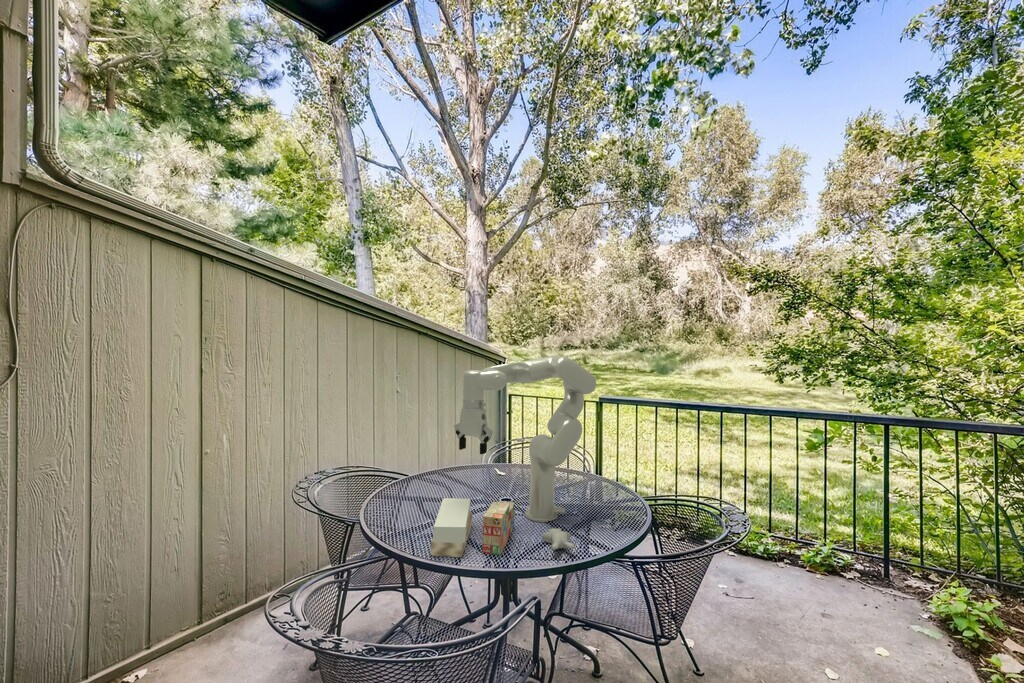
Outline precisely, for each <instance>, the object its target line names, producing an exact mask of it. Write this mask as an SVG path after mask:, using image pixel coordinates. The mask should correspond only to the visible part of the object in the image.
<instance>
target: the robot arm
mask: <svg viewBox="0 0 1024 683" xmlns="http://www.w3.org/2000/svg"><path fill="white" fill-rule="evenodd" d="M462 377H463V380H462V383H463V384H462V387H463V388H462V407H461V410H460V415H459V416H460V417H459V422H458V423H456V424H455V425H454V426H453V428H454V430H455V434H456V435H457V439H458V450H460V451H461V450H464V449H466V448H467V438H466V436H469V437H475V438H478V439H479V441H480V443H479V454H480V455H484V454H487V450H488V444H487V443H488V442H489V441H490V439H492V435H493V434H494V432H493V430H491V429H490V428H489V426H488V425H489V424H488V415H487V410H486V408H485V407H486V402H485V399H484V397H485V391H494V392H496V391H501V390H502V389H504V388H505V387H506V385H507V384H509V383H519V384H532V383H535V382H536V383H537V382H539V381H544V380H549V379H553V378H558V379H561V380H562V385H563V388H564V389H563V390H564V396H563V398H562V401H561V403H559V404H560V405H558V407H557V408H556V409H555V411H554V412H553V414H552V416H551V417H550V418H549V419H548V422H547V425H546V426H547V427H546V428H547V430H548V432H549V433H550V434H551V435H553V437H552V436H550V435H547V434H542V433H541V434H537V435H534V436H533V437H532V439H531V440H530V443H529V446H528V448H529V451H528V452H529V460H530V475H529V476H530V478H529V502H528V503H529V504H528V505H529V506H528V508H527V509H526V510H525V512H524V515H525V517H526V518H527V519H528V520H530V521H533V522H538V523H549V522H548V521H550V522H553V521H555V520H557V518H558V514H560V515H561V514H562V515H566V508H563V506H556V504H555V481H556V478H555V477H556V467H559V466H560V465H562V464H563V463H564V462H566V460H567V458H568V457H569V455H570V454H571V453H572V451H573V450H574V449H575V447H576V445H577V444H578V442H579V440H580V439H581V436H582V434H583V424H582V423H581V421H580V420H579V419H578V417H579V416H580V414H581V413H582V411H583V408H584V405H585V404H584V403H585V395H590V394H591V393H593V392H595V390H596V388H597V379H596V377H595V375H593V374H592V373H591V372H590V371H589V370H587V369H586V368H584V367H583V366H581V365H580V364H579V363H578V362H576V361H575V360H573V359H571V358H570V357H568V356H563V355H557V354H556V355H548V356H544V357H538V358H533V359H529V360H524V361H518V362H512V363H504V364H499V365H497V364H496V365H494V366H487V367H484V368H483V369H482V370H477V369H475V370H474V369H472V370H471V369H470V370H469V369H468V370H465V371H464V372H463V376H462ZM554 519H555V520H554ZM552 520H553V521H552Z"/></svg>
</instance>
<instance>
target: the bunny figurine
mask: <svg viewBox="0 0 1024 683" xmlns="http://www.w3.org/2000/svg"><path fill="white" fill-rule="evenodd" d="M542 541H544V542H547V543H549V544H551V548H550V549H551V550H552V551H554V550H555V551H556V549H557V550H558V549H562V548H565V549H568V548H569V549H571V550H575V549H576V547H575V544H574V543H573V542H570V541H571V533H570V532H568V531H564V530H563V531H562V528H548V530H547V532H544V533H542Z"/></svg>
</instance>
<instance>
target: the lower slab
mask: <svg viewBox="0 0 1024 683" xmlns="http://www.w3.org/2000/svg"><path fill="white" fill-rule="evenodd" d="M472 525H473V512H472V511H470V515H469V522H468V528H467V534H466V540H465V543H440V542H433V537H434V535H433V537H432V539H431V541H430V556H431V555H432V556H433V557H434V556H436V557H449V558H450V557H453V558H462V557H463V556H464V552H465V549H466V545H467V542H468V539H469V535H470V532H471V529H472V527H473V526H472Z"/></svg>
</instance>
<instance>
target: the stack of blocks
mask: <svg viewBox="0 0 1024 683" xmlns="http://www.w3.org/2000/svg"><path fill="white" fill-rule="evenodd" d="M482 518H483V519H482V520H483V521H482V543H481V545H482V550H481V551H482V552H481V553H483V554H488V555H489V554H490V555H491V554H492V555H497V556H498V555H499V556H501V555H502V553H503V551H504V549H505V547H506V545H507V544H508V543H507V542H508V541H509V538H510V536H511V535H512V533H513V530H514V528H515V502H514V501H513V502H512V501H502V500H498V501H497V502H496V501H492V502H491V504H490V506H489V507H488V509H487V510H486V512H485V513H484V514H483V517H482Z"/></svg>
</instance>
